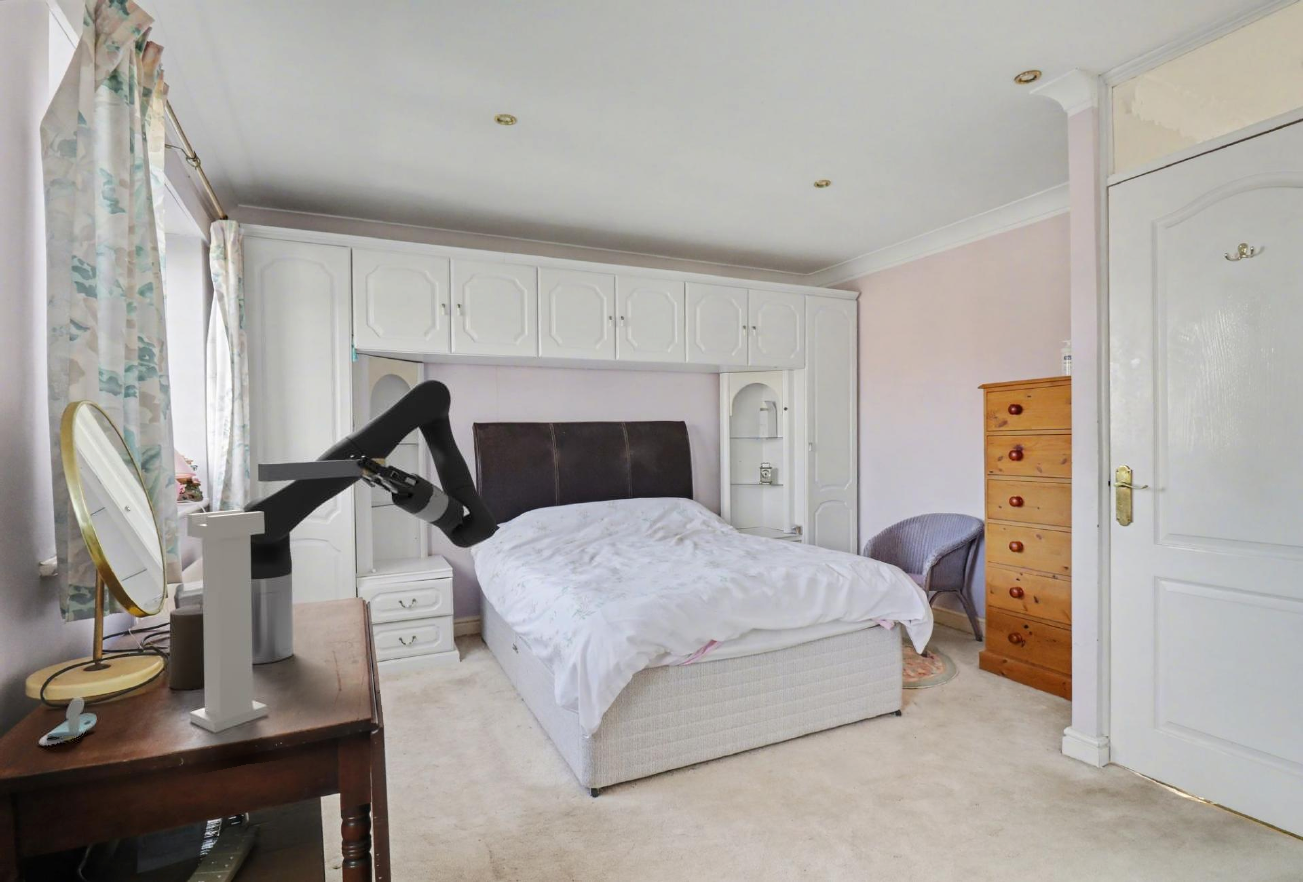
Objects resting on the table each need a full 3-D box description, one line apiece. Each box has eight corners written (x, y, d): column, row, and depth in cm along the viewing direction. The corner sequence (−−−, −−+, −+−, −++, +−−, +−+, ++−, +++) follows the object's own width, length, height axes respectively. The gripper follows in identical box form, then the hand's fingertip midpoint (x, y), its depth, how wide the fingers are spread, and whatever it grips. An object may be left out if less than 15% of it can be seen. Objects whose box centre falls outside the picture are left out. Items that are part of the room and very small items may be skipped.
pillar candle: (196, 692, 122) (196, 609, 122) (156, 687, 125) (156, 605, 125) (243, 675, 131) (243, 597, 132) (204, 670, 134) (205, 594, 134)
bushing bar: (258, 481, 116) (257, 463, 116) (376, 473, 136) (376, 458, 136) (267, 481, 115) (267, 464, 115) (385, 474, 134) (385, 458, 134)
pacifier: (28, 752, 100) (76, 746, 101) (25, 710, 100) (74, 704, 101) (57, 731, 107) (102, 726, 109) (55, 692, 107) (100, 687, 108)
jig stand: (190, 721, 110) (187, 514, 109) (242, 704, 116) (239, 509, 116) (214, 732, 105) (211, 517, 105) (267, 714, 112) (264, 511, 112)
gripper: (406, 481, 148) (342, 442, 136) (450, 483, 141) (386, 442, 128) (392, 512, 145) (325, 476, 132) (436, 516, 138) (369, 478, 125)
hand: (356, 460), depth 130 cm, fingers closed on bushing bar, 3 cm apart
